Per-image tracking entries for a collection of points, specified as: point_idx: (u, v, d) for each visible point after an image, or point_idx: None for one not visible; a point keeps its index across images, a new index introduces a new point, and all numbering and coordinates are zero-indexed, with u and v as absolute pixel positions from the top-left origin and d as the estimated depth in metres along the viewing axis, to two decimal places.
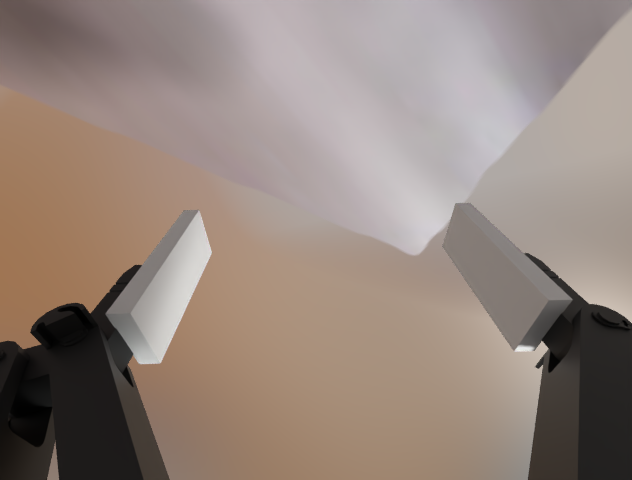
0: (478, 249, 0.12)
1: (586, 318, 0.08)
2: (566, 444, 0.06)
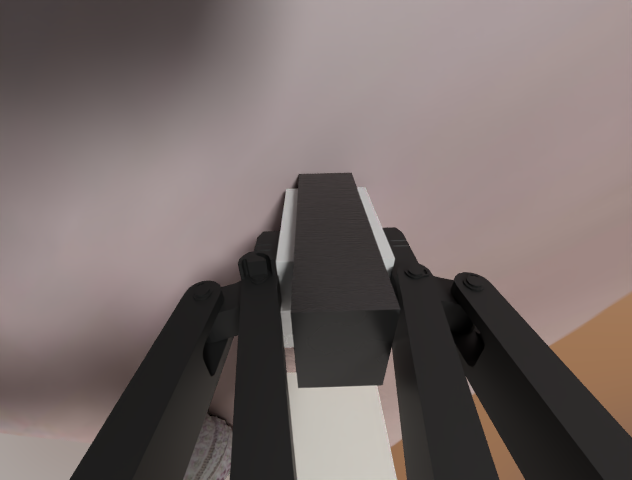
0: None
1: (402, 278, 0.10)
2: (414, 401, 0.07)
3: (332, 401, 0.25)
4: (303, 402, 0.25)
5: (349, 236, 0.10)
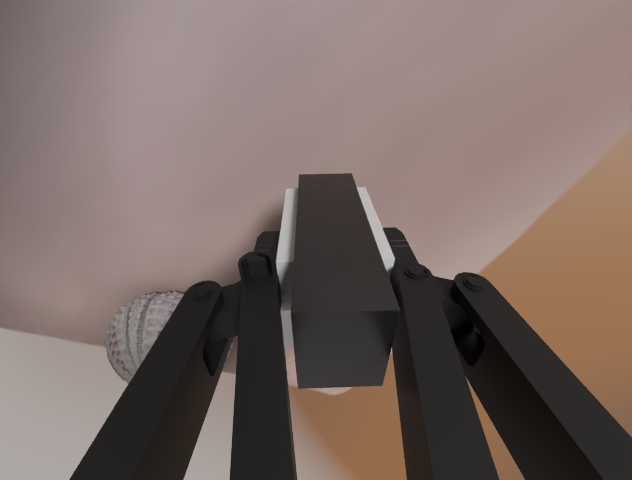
0: None
1: (402, 278, 0.10)
2: (414, 401, 0.07)
3: None
4: None
5: (349, 236, 0.10)
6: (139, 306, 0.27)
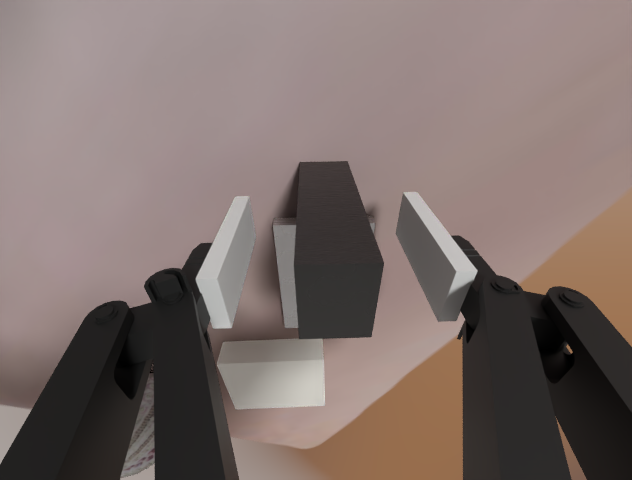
0: (417, 232, 0.13)
1: (488, 289, 0.09)
2: (486, 412, 0.07)
3: (279, 378, 0.27)
4: (253, 379, 0.27)
5: (343, 210, 0.12)
6: None
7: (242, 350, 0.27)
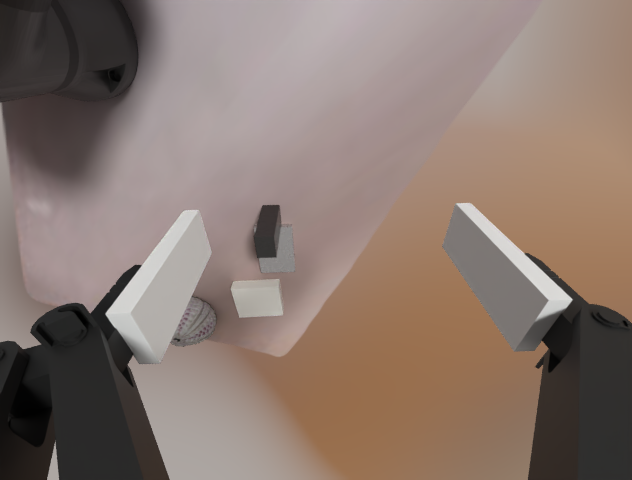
0: (478, 249, 0.12)
1: (586, 318, 0.08)
2: (566, 445, 0.06)
3: (259, 297, 0.59)
4: (247, 298, 0.59)
5: (270, 223, 0.44)
6: None
7: (242, 284, 0.58)
